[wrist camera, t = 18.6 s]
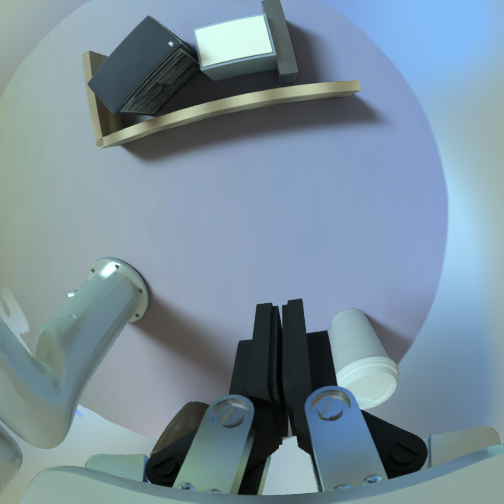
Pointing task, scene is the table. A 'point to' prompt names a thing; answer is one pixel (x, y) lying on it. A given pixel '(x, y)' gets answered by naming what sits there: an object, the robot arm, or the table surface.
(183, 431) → the plant pot
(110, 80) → the small box
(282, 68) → the bookend
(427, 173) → the table surface
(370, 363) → the coffee cup
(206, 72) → the pale grey block
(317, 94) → the curved wooden plank
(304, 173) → the table surface
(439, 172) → the table surface
